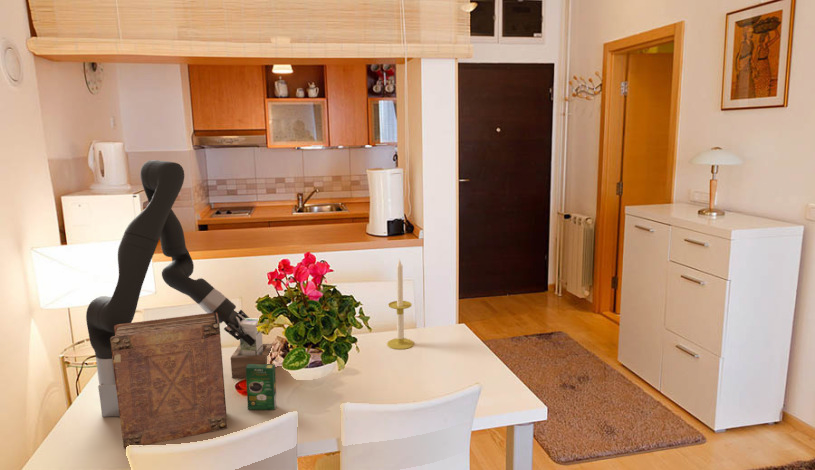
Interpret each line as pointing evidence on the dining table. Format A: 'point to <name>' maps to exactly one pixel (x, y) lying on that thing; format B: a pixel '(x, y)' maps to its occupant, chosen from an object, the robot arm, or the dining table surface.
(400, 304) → the candle
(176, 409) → the book
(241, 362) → the walnut socket
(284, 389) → the dining table surface
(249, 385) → the coffee box
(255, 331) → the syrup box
